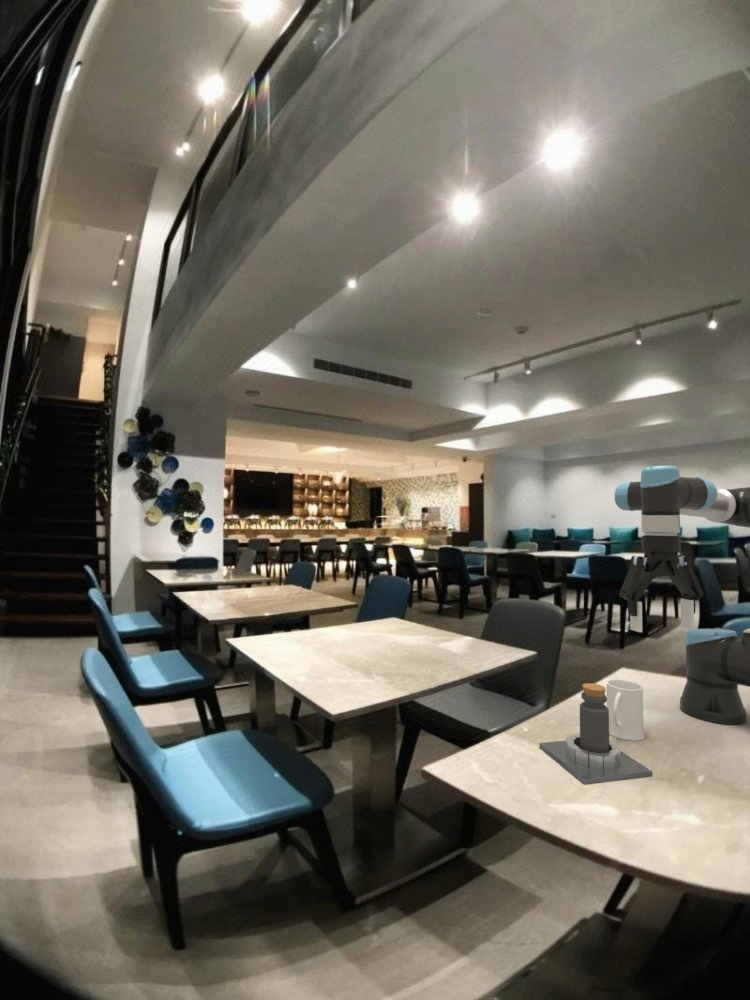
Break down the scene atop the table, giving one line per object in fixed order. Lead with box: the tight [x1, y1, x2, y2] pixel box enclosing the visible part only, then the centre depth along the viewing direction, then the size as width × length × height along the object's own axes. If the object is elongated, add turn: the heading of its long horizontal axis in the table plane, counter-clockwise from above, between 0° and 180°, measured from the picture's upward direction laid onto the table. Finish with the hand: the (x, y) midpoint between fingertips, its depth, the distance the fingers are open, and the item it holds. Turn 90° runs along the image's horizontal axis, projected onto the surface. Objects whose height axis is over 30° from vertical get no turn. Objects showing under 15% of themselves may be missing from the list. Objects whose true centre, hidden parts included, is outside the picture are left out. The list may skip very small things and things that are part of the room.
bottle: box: [579, 683, 610, 753], centre depth 105 cm, size 6×6×15 cm
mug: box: [606, 679, 646, 742], centre depth 118 cm, size 12×8×12 cm
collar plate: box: [538, 733, 653, 785], centre depth 105 cm, size 16×16×4 cm
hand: (662, 629), depth 107 cm, fingers open, 13 cm apart
